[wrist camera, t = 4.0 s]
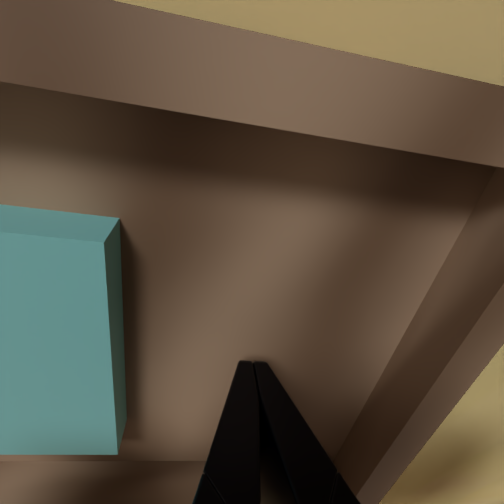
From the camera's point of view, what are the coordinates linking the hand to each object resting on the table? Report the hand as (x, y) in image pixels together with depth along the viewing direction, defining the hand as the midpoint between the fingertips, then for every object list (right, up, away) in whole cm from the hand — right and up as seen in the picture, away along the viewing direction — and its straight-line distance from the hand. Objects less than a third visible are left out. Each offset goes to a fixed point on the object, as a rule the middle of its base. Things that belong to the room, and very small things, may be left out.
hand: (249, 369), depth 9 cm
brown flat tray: (-4, +1, +1) cm, 4 cm away
